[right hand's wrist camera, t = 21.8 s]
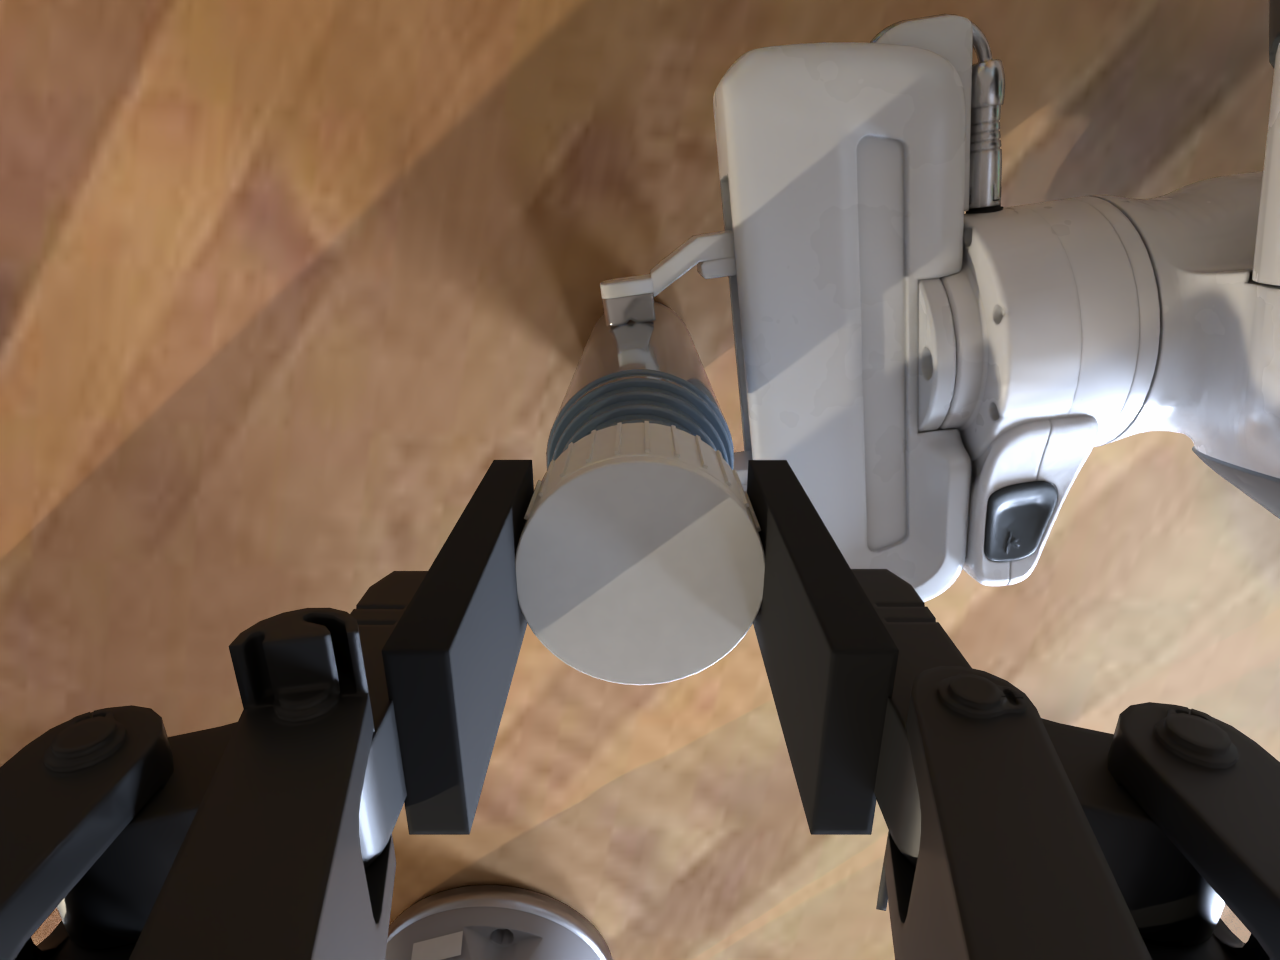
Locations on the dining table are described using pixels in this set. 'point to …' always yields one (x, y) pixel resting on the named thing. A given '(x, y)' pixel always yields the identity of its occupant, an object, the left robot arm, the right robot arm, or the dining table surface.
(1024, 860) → the right robot arm
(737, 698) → the dining table surface
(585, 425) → the bottle
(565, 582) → the cap
